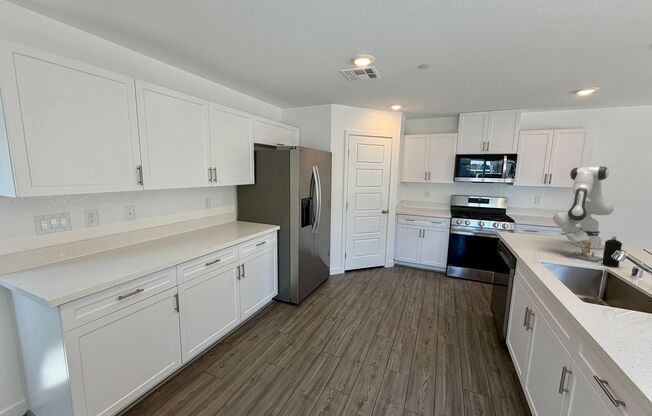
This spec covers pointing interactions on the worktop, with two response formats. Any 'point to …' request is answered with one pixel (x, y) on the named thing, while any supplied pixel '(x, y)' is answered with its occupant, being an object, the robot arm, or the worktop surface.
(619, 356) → the worktop surface
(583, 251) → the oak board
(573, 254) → the peg base
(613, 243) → the aerosol can
